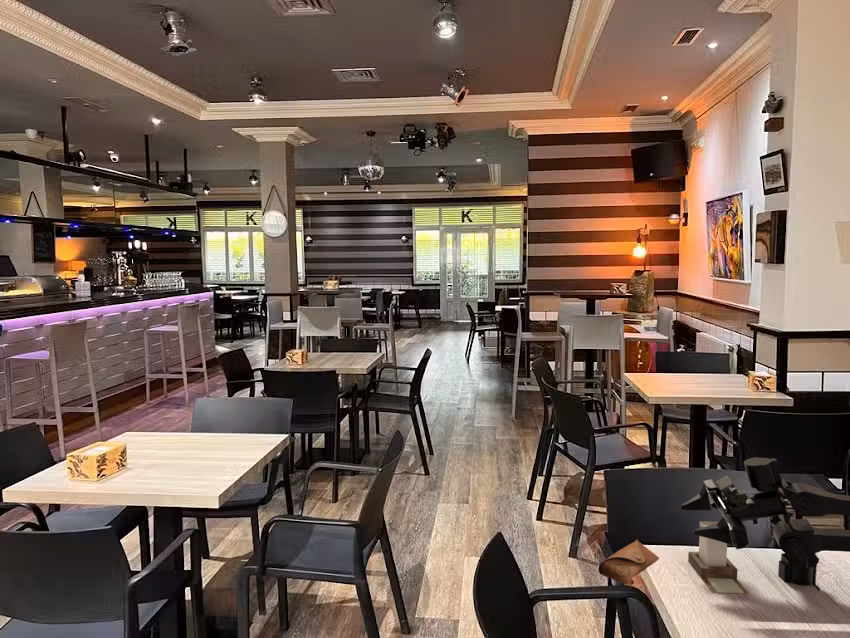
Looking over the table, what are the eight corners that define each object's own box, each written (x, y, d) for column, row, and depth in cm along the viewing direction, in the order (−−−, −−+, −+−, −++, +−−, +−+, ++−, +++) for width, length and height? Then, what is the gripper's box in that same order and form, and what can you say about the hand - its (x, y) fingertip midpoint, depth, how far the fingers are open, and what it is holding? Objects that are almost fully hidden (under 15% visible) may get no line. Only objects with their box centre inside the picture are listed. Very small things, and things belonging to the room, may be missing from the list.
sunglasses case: (631, 587, 134) (618, 557, 136) (607, 591, 139) (594, 563, 141) (666, 560, 146) (653, 533, 148) (642, 565, 151) (630, 539, 153)
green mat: (732, 579, 135) (732, 578, 135) (743, 593, 129) (743, 592, 129) (707, 579, 135) (707, 578, 135) (717, 592, 130) (717, 591, 130)
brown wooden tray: (721, 566, 143) (722, 552, 143) (749, 598, 129) (750, 583, 129) (688, 565, 144) (688, 551, 143) (712, 597, 130) (712, 582, 129)
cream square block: (717, 565, 142) (719, 521, 141) (726, 575, 137) (727, 530, 136) (698, 565, 142) (699, 521, 141) (705, 575, 137) (707, 529, 136)
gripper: (734, 455, 143) (668, 469, 146) (769, 502, 125) (694, 517, 128) (741, 493, 146) (677, 506, 149) (776, 544, 128) (703, 557, 131)
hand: (687, 519), depth 139 cm, fingers open, 9 cm apart
